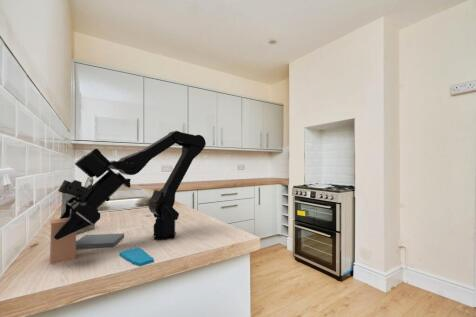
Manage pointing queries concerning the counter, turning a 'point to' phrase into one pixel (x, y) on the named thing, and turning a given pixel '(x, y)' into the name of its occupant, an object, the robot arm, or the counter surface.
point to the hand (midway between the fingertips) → (54, 234)
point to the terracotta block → (61, 243)
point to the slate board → (98, 241)
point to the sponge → (137, 256)
